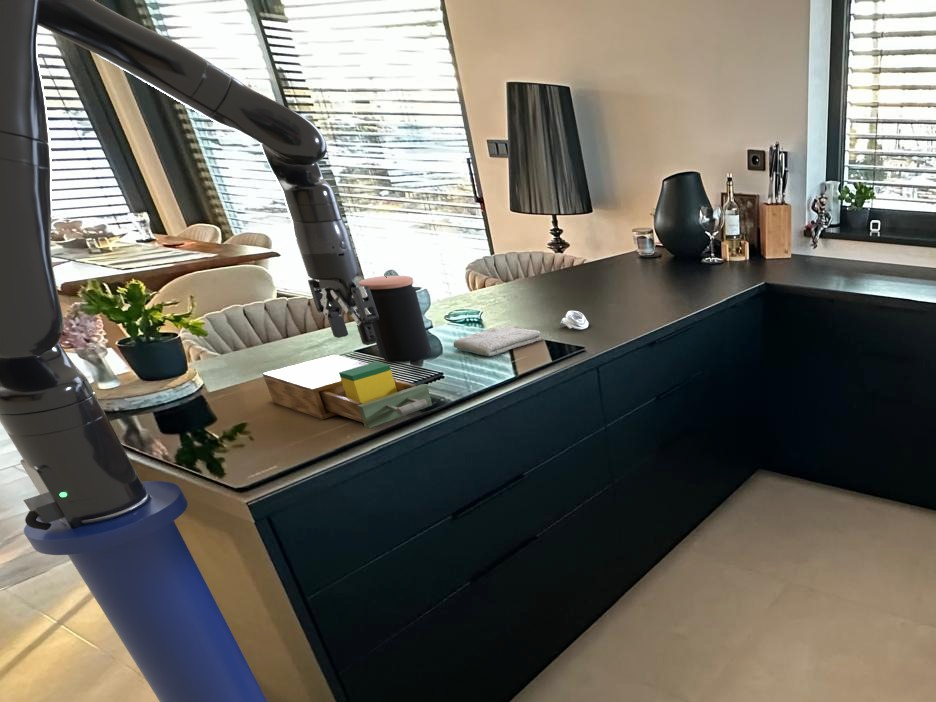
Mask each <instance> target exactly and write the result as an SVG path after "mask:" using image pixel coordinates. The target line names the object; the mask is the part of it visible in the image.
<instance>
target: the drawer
mask: <svg viewBox="0 0 936 702" xmlns="http://www.w3.org/2000/svg"><path fill="white" fill-rule="evenodd" d="M393 379H394V382H395V386H396V389H397V392H396V393H393V394H390V395H387V396H384V397H381V398H378V399H375V400H372V401H369V402H366V403H363V404H362V402H359V401H356V400H353V399H350V398H347V396H346V393H345V390H344V387H343V384H342V385H339V386H336V387H332V388H329V389H326V390H322V391H319V395H320V398H321V401H322V404H323V406H324V409H325V410H327V411H330V412H333V413H336V414H338V415H339V416H341V417H345V418H348V419H350V420H354V421H358V422H360V423H363V426H364V428H366V429H371V428H374V427H377V426H379V425H382V424H384V423H388V422H390V421H393V420H396V419H398V418H402V417H404V416H406V415H410V414H412V413H415V412H418V411H420V410H424V409H426V408H428V407H429V408H430V407H431V406H433V403H432V398H431V395H430V391H429V386H428V384H425V383H421V384H417V385H416V384H415V383H411V382H408V381H405V380H401V379H398V378H394V377H393Z"/></svg>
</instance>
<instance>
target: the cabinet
mask: <svg viewBox="0 0 936 702" xmlns="http://www.w3.org/2000/svg"><path fill="white" fill-rule="evenodd" d="M367 364H370V363H369V362H365V361H362V360H357V359H354V358H350V357H346V356H344V355H339V354H332V355H329V356H325V357H321V358H316V359H313V360H309V361H305V362H301V363H298V364H297V363H296V364H294V365H290V366H289V365H288V366H286V367H282V368H278V369H274V370H269V371H267V372H263V373H262V376H263V379H264V382H265V384H266V387H267V389H268V392H269V395H270V397H271V400H272V402H273V403H274V404H276V405H280V406H283V407H285V408H289V409H292V410H295V411H297V412H299V413H303V414H306V415H309V416H312V417H315V418H317V419H321V420H326V419H329V418H331V417H335V416H337V415H339V414H336V413H333V412H330V411H327V410H325V409H324V406H323V404H322V401H321V398H320V395H319V391H322V390H326V389H329V388H332V387H336V386H339V385H342V381H341V377H340V375H339V372H342V371H345V370H349V369H352V368H356V367H359V366H363V365H367Z"/></svg>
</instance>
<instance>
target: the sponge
mask: <svg viewBox="0 0 936 702" xmlns="http://www.w3.org/2000/svg"><path fill="white" fill-rule="evenodd" d="M339 375H340V377H341V381H342V384H343V387H344V390H345V393H346V396H347V398H350V399H353V400H356V401H359V402H362V404H363V403H366V402H369V401H372V400H375V399H378V398H381V397H384V396H387V395H390V394H393V393H396V392H397V389H396V386H395V382H394V379H395V378H394V376H393V372H392V369H391V365H390V364H386V363H383V362H379V361H374V362H370V363H369V364H367V365H363V366H359V367H356V368H352V369H349V370H345V371H342V372H339ZM393 378H394V379H393Z"/></svg>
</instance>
